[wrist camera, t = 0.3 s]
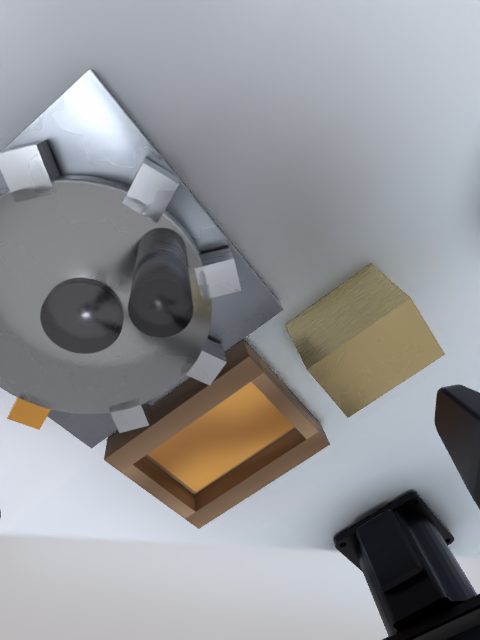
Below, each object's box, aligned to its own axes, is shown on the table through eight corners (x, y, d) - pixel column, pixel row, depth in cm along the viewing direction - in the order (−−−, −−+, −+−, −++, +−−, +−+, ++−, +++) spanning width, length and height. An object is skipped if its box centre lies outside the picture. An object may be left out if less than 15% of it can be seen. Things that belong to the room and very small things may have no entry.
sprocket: (286, 311, 21) (331, 397, 15) (90, 452, 23) (66, 573, 17) (88, 66, 15) (42, 56, 9) (-144, 282, 17) (-293, 378, 12)
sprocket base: (279, 302, 21) (283, 309, 21) (93, 437, 24) (91, 448, 23) (93, 69, 16) (89, 69, 15) (-126, 272, 18) (-139, 280, 17)
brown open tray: (320, 424, 25) (330, 444, 24) (197, 505, 27) (198, 528, 26) (243, 339, 22) (249, 356, 21) (107, 437, 24) (103, 459, 22)
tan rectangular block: (401, 312, 23) (444, 354, 19) (320, 368, 24) (347, 417, 20) (370, 262, 21) (410, 298, 18) (284, 324, 22) (307, 369, 19)
